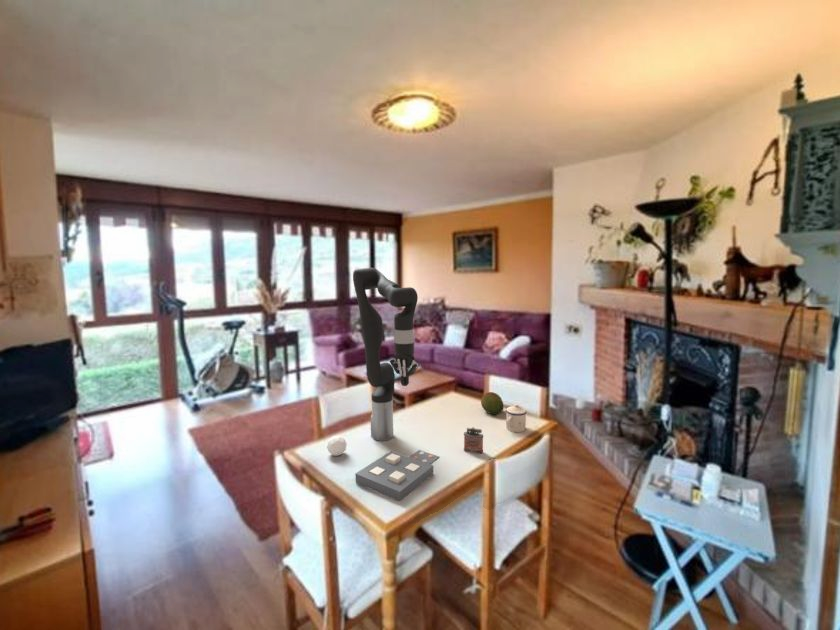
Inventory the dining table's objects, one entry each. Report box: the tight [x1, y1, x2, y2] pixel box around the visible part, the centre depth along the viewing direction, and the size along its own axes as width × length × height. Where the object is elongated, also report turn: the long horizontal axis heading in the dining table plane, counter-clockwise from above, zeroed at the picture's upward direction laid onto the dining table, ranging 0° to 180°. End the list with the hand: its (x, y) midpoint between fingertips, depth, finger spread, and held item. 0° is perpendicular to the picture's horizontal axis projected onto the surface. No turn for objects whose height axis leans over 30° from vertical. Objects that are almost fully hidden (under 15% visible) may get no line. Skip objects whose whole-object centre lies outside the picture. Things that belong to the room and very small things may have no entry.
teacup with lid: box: [505, 403, 527, 433], centre depth 184 cm, size 12×9×12 cm
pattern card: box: [408, 449, 440, 465], centre depth 160 cm, size 10×8×1 cm
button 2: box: [405, 463, 420, 472], centre depth 146 cm, size 4×4×3 cm
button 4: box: [389, 471, 405, 484], centre depth 139 cm, size 4×4×3 cm
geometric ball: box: [326, 435, 348, 457], centre depth 163 cm, size 8×8×8 cm
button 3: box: [369, 467, 385, 476], centre depth 144 cm, size 4×4×3 cm
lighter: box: [463, 426, 484, 455], centre depth 164 cm, size 8×3×10 cm, turn 69°
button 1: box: [386, 454, 401, 465], centre depth 151 cm, size 4×4×3 cm
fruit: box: [480, 391, 504, 415], centre depth 205 cm, size 12×12×10 cm
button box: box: [354, 450, 434, 502], centre depth 145 cm, size 20×20×4 cm
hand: (404, 385), depth 153 cm, fingers closed
